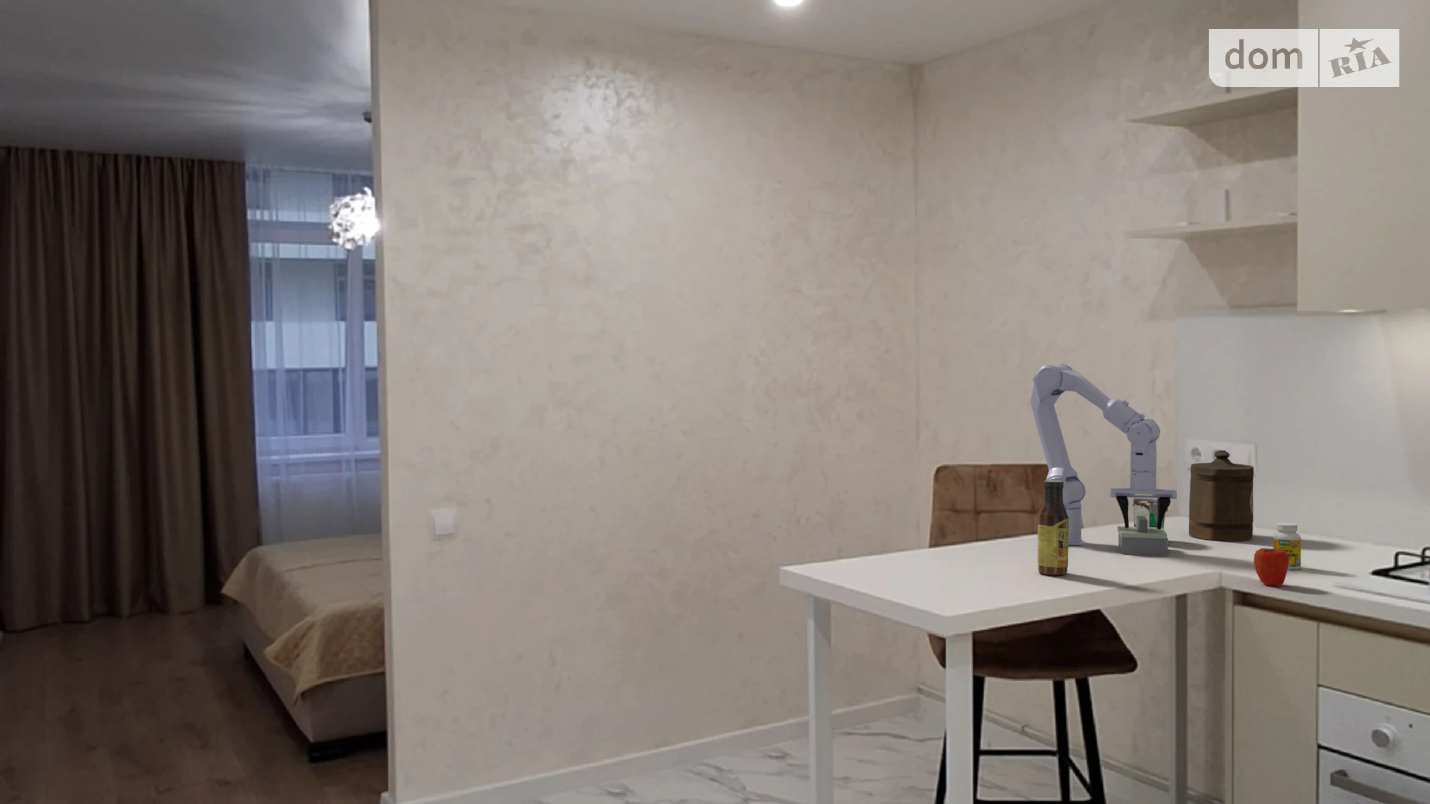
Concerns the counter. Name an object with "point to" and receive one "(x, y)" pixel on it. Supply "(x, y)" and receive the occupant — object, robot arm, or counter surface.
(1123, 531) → the lid
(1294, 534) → the supplement bottle
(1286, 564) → the apple
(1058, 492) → the sauce bottle
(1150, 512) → the food container
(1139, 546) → the tub
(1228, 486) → the wooden container
